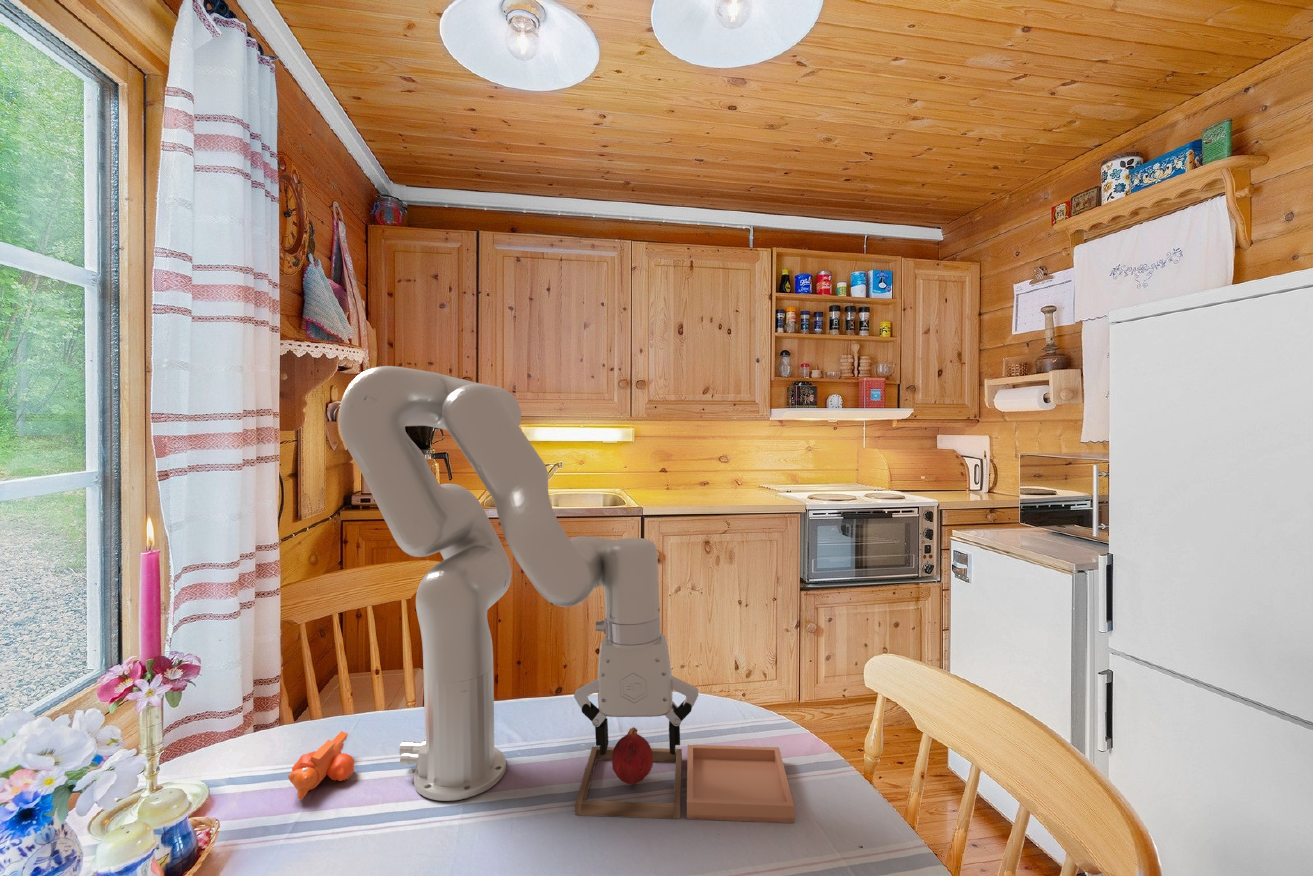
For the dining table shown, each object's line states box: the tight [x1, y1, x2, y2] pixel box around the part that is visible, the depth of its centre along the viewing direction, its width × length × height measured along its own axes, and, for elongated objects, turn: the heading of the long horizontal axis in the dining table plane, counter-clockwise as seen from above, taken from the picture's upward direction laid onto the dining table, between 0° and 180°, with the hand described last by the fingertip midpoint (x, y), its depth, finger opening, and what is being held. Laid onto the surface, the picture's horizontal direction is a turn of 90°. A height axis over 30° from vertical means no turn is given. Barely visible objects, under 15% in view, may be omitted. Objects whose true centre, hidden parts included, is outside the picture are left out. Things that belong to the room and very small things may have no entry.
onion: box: [611, 727, 654, 786], centre depth 85 cm, size 6×6×8 cm
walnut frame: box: [574, 745, 683, 820], centre depth 85 cm, size 14×14×2 cm
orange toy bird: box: [288, 731, 355, 800], centre depth 86 cm, size 5×8×12 cm
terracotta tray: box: [686, 744, 795, 824], centre depth 84 cm, size 14×14×2 cm
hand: (638, 749), depth 85 cm, fingers open, 9 cm apart
